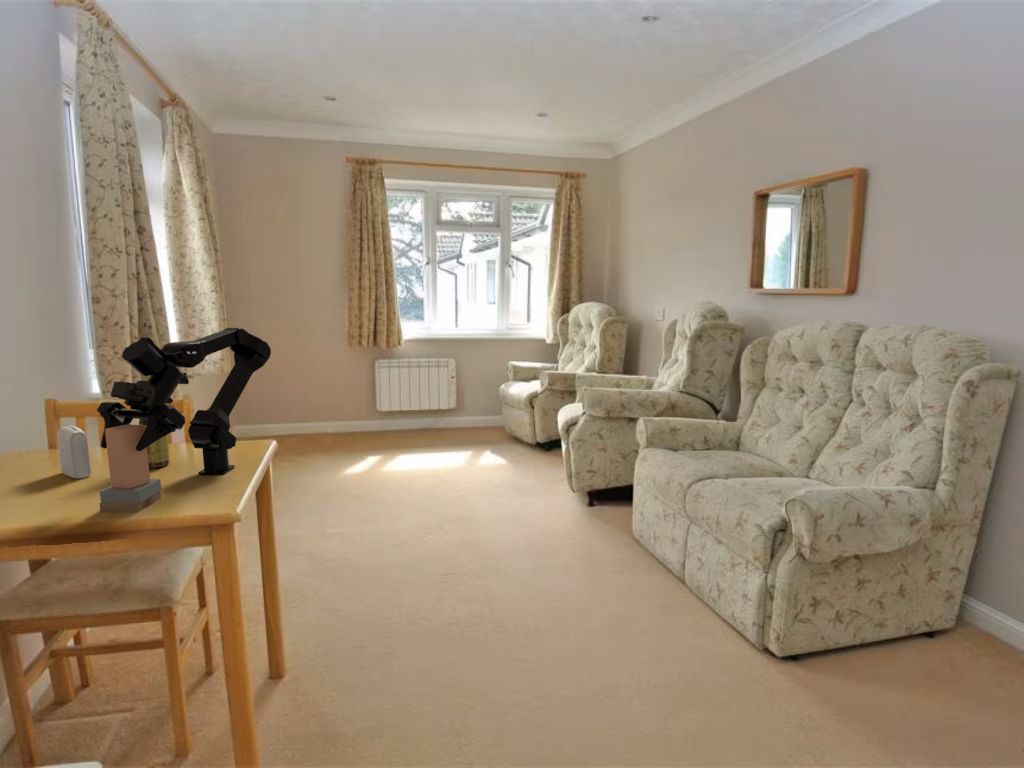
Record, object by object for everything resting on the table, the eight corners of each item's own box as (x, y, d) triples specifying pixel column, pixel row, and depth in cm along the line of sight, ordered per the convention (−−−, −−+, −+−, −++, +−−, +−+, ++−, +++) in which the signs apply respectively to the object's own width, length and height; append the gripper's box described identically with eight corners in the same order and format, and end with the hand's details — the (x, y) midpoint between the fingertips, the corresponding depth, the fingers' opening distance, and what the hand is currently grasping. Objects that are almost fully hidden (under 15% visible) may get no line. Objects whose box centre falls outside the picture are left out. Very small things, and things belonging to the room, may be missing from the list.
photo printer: (58, 473, 150) (52, 425, 148) (78, 469, 153) (73, 422, 152) (73, 480, 144) (67, 430, 142) (94, 476, 147) (88, 427, 146)
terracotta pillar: (133, 480, 130) (127, 424, 128) (150, 482, 128) (144, 425, 127) (111, 487, 125) (104, 429, 124) (128, 489, 124) (122, 430, 122)
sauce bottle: (140, 465, 156) (132, 391, 153) (166, 461, 160) (159, 388, 157) (146, 471, 151) (138, 394, 148) (173, 466, 156) (166, 391, 153)
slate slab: (124, 490, 131) (123, 479, 131) (161, 489, 131) (160, 479, 131) (100, 503, 123) (99, 491, 123) (140, 502, 123) (139, 490, 123)
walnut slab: (124, 501, 131) (123, 490, 131) (161, 501, 131) (160, 490, 131) (100, 514, 123) (99, 503, 123) (139, 514, 124) (138, 502, 123)
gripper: (100, 365, 129) (55, 425, 121) (169, 367, 124) (128, 431, 116) (135, 395, 138) (95, 453, 129) (201, 398, 133) (165, 459, 124)
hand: (119, 448), depth 124 cm, fingers open, 9 cm apart
